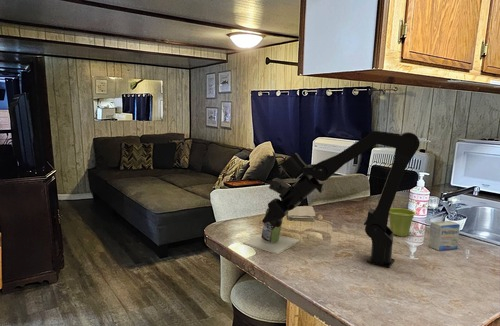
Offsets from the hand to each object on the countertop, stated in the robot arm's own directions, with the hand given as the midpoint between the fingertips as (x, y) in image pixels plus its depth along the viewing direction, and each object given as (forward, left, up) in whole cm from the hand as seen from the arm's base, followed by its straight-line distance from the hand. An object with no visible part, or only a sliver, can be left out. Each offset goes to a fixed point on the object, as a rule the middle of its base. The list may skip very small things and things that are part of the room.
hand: (268, 218), depth 116 cm
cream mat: (0, -1, -8) cm, 8 cm away
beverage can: (0, -2, -8) cm, 8 cm away
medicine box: (+33, -48, -9) cm, 59 cm away
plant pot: (+38, -33, -9) cm, 52 cm away
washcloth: (+36, +7, -9) cm, 38 cm away
